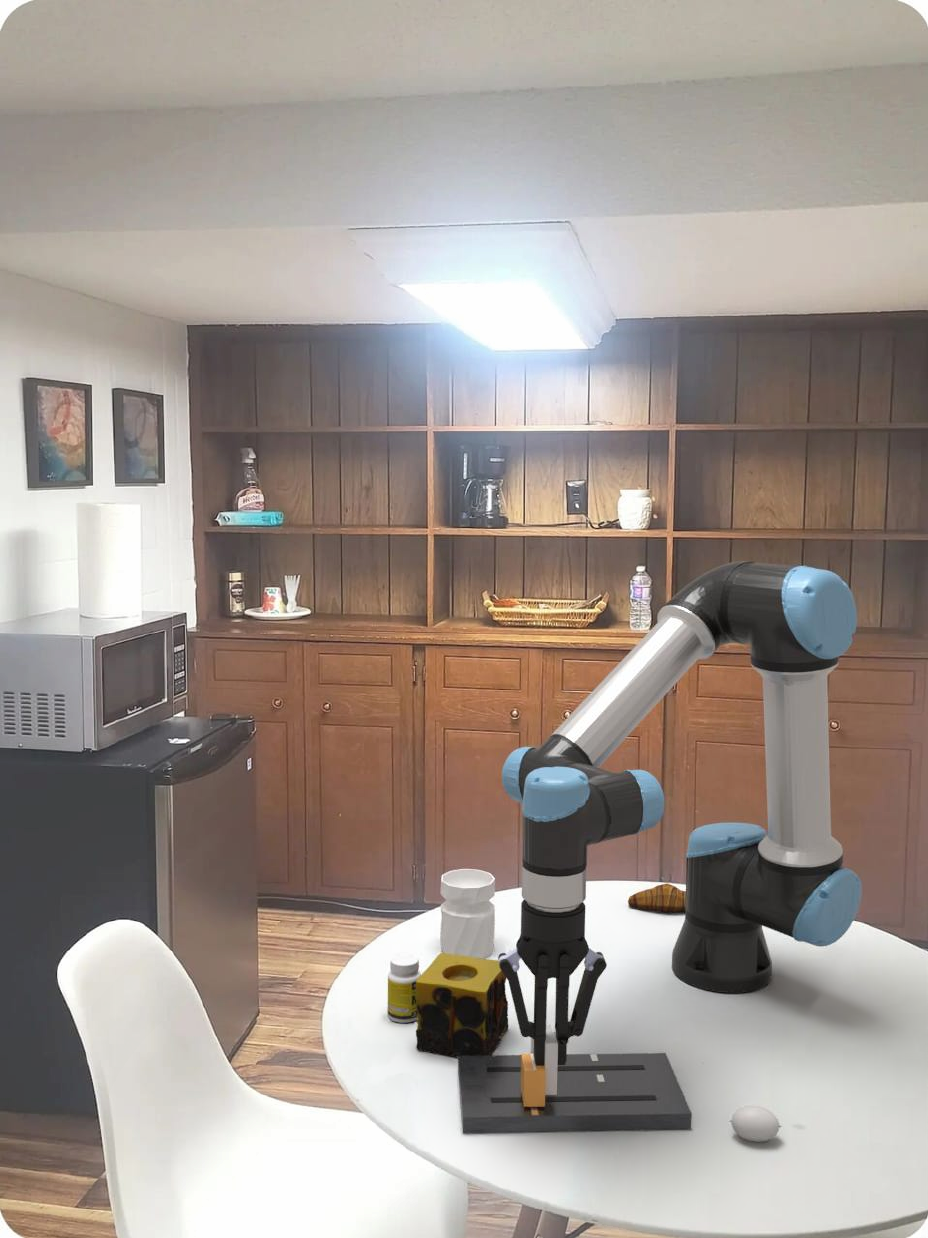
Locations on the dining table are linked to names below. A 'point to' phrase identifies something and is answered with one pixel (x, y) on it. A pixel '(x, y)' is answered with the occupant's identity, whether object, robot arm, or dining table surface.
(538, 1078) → the fader
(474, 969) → the candle
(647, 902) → the croissant
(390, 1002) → the supplement bottle
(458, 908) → the vase
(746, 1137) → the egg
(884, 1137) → the dining table surface
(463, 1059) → the console
